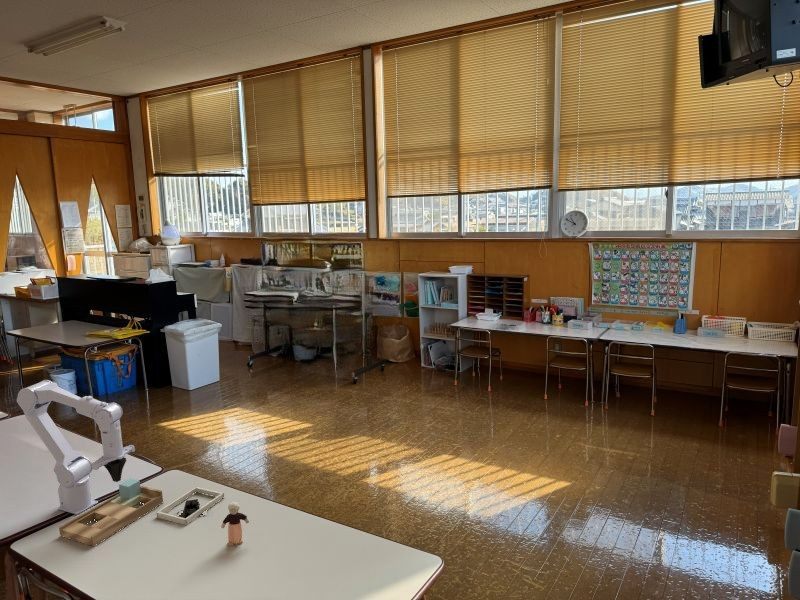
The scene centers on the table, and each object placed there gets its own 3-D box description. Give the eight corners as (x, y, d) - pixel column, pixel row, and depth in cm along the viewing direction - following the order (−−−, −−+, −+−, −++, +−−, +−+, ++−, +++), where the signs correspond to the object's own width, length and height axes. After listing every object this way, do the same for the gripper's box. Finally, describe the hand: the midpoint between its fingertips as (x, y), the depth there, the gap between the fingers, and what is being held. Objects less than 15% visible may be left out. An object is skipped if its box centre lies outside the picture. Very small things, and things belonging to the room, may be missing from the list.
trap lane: (60, 536, 166) (58, 522, 165) (131, 495, 189) (130, 483, 188) (93, 546, 160) (92, 533, 159) (163, 502, 183) (161, 490, 183)
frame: (156, 517, 175) (156, 512, 174) (196, 491, 190) (195, 486, 190) (186, 525, 170) (185, 519, 170) (224, 498, 185) (223, 493, 185)
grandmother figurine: (224, 549, 157) (221, 508, 155) (222, 542, 160) (218, 502, 158) (251, 541, 160) (248, 501, 158) (248, 535, 164) (245, 495, 162)
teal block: (120, 497, 183) (118, 484, 183) (131, 490, 187) (130, 478, 187) (129, 499, 182) (128, 486, 181) (141, 492, 186) (139, 480, 185)
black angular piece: (170, 523, 172) (168, 510, 171) (174, 511, 179) (172, 498, 178) (211, 518, 175) (210, 504, 174) (214, 506, 182) (212, 493, 181)
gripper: (100, 452, 169) (105, 493, 171) (139, 434, 182) (143, 472, 184) (84, 449, 171) (90, 489, 174) (124, 431, 185) (128, 469, 187)
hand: (116, 480), depth 179 cm, fingers closed
